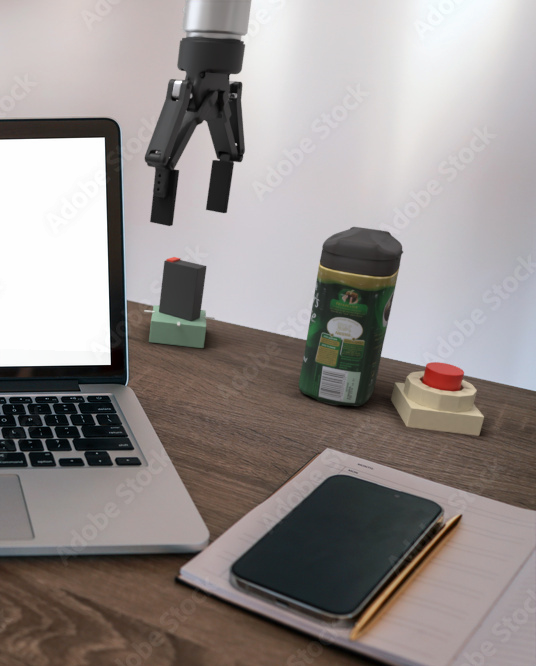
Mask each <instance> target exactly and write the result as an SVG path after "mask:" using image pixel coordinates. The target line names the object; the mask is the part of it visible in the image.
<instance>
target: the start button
mask: <svg viewBox="0 0 536 666" xmlns="http://www.w3.org/2000/svg"><path fill="white" fill-rule="evenodd" d="M424 371H425V372H424V376H423V380H422V383H423V384H425V385H427V386H429V387H432V388H435V389H439V390H444V391H453V392H454V391H460V387H461V384H462V380H464V376H465V371H464V370H463V369H462V368H460V367H459V366H456V365H453V364H450V363H446V362H438V361H437V362H436V361H434V362H433V361H432V362H427V363H426V365H425V368H424Z"/></svg>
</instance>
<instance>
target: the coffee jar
mask: <svg viewBox="0 0 536 666" xmlns="http://www.w3.org/2000/svg"><path fill="white" fill-rule="evenodd" d="M403 254H404V250H403V245H402V243H401V242H400V241H399V240H398V239H397V238H396V237H394V236H393V235H392V234H391V233H390V231H388V230H387V231H386V230H383V229H382V230H380V229H375V228H368V227H359V226H352V227H350V228H348V229H346V230H343V231H339V232H336V233H334V234H332V235H331V236H328V238H326V239H325V240H324V242H323V244H322V249H321V254H320V257H319V258H320V259H319V262H318V268H317V269H318V270H317V275H316V282H315V287H314V295H313V300H312V305H311V311H310V318H309V323H308V324H309V325H308V328H307V334H306V335H307V336H306V341H305V347H304V353H303V358H302V362H301V368H300V372H299V379H298V389H299V391H300V392H301V393H302V394H304V395H307V396H308V397H310V398H312V399H314V400H316V401H318V402H319V403H320V402H321V403H324V404H327V405H332V406H336V407H337V406H350V407H361V406H362V405H364V404H366V403H367V402H368V401H369V399H371V397H372V395H373V393H374V391H375V389H376V388H375V387H376V383H377V379H378V375H379V374H378V373H379V368H380V362H381V359H382V353H383V347H384V343H385V338H386V333H387V330H388V324H389V320H390V315H391V310H392V305H393V300H394V296H395V291H396V286H397V282H398V281H397V280H398V276H399V271H400V267H401V259H402V255H403Z"/></svg>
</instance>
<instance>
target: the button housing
mask: <svg viewBox="0 0 536 666" xmlns="http://www.w3.org/2000/svg"><path fill="white" fill-rule="evenodd" d="M424 372H425V370H421V371H412V372H410V373H409V374H408V375H407V376H406V378H405V382H398V381H397V382H394V385H393V389H392V394H391V397H390V401H391V402H392V405H393V406H394V408H395V410H396V411H397V413H398V415H399V416H400V418H401V420H402V421H403V423H404V424H405V427H406V428H413V429H421V430H428V431H437V432H445V433H452V434H461V435H462V434H463V435H468V436H478V437H479V436H480V433H481V431H482V427H483V423H484V420H485V416H484V414H483V413H482V412H481V411H480V410H479V409H478V407H477V406H476V405H475V401H476V397H477V393H478V392H477V391H478V389H477V388H476V387H475V386H474V385H473V384H472V383H471V382H469V381H466V380H465V379H463V380H462V384H461V387H460V391H454V392H453V391H444V390H439V389H435V388H432V387H429V386H427V385H425V384H423V383H422V380H423V376H424Z"/></svg>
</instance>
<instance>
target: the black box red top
mask: <svg viewBox="0 0 536 666" xmlns="http://www.w3.org/2000/svg"><path fill="white" fill-rule="evenodd" d="M206 274H207V265H203V264H199V263H195V262H190V261H186V260H182V259H181V258H180V257H176V256H172V257H169V258H166V260H164V262H163V270H162V278H161V279H162V280H161V288H160V296H159V305H158V306H159V312H161V313H164V314H168V315H171V316H175V317H178V318H182V319H185V320H189V321H193V320H196V319H198V318H200V313H201V310H202V306H203V296H204V289H205V281H206Z"/></svg>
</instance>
